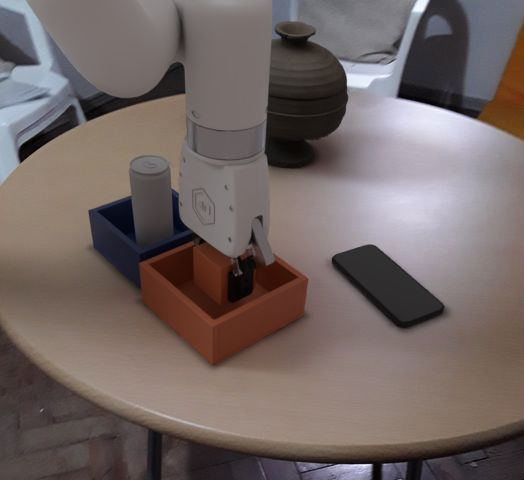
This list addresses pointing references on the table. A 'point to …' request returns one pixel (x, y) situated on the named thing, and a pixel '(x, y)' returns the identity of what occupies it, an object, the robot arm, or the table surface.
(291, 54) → the pot
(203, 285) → the terracotta block
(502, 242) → the table surface
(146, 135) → the table surface
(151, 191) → the beverage can
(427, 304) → the smartphone
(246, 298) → the terracotta bin
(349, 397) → the table surface
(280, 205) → the table surface
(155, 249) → the navy bin
